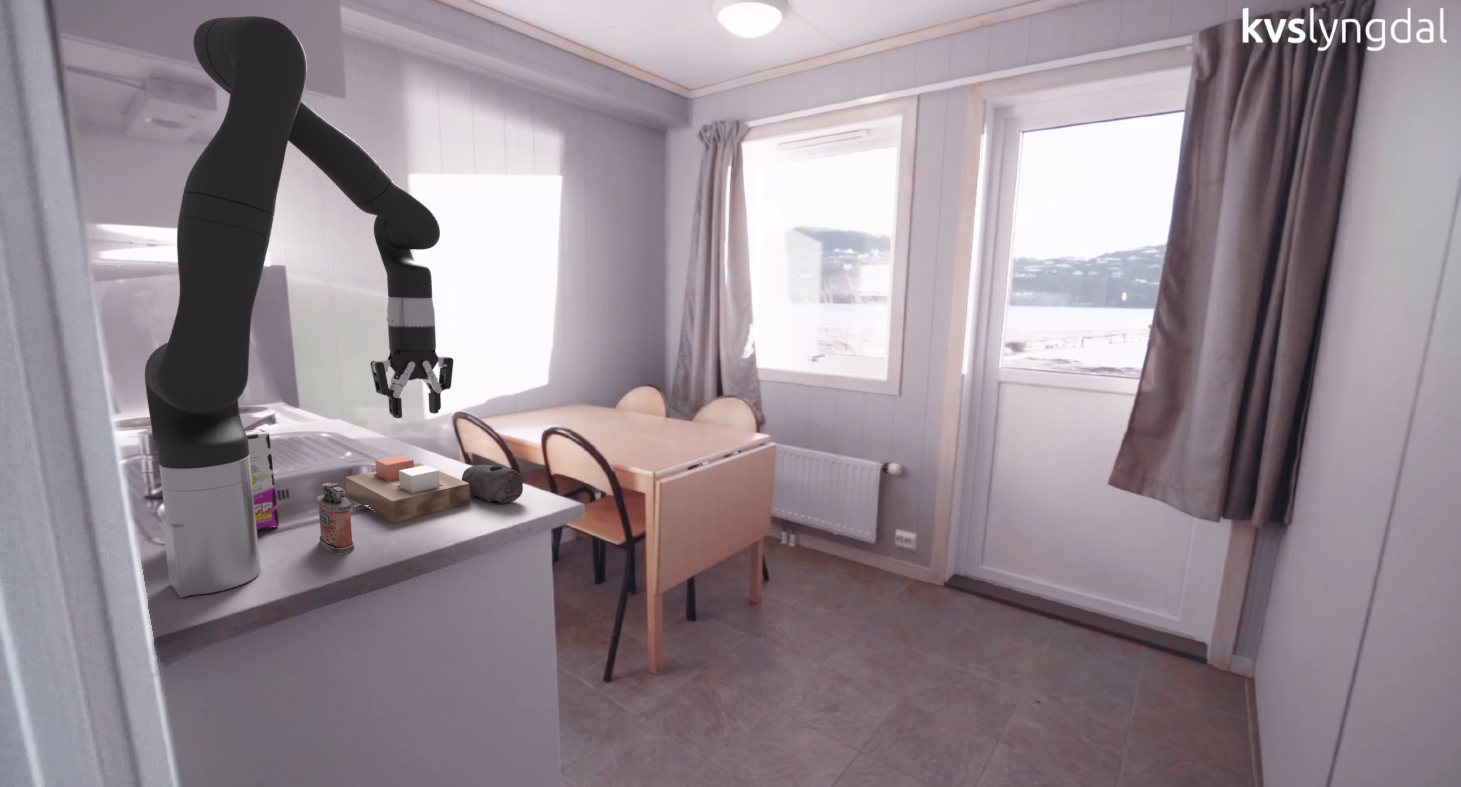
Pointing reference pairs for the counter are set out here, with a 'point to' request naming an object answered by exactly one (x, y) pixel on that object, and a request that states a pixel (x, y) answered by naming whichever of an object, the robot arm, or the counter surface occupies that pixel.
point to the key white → (418, 478)
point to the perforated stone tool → (493, 483)
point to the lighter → (335, 519)
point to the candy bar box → (262, 479)
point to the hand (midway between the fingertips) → (416, 414)
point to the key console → (406, 496)
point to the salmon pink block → (392, 467)
